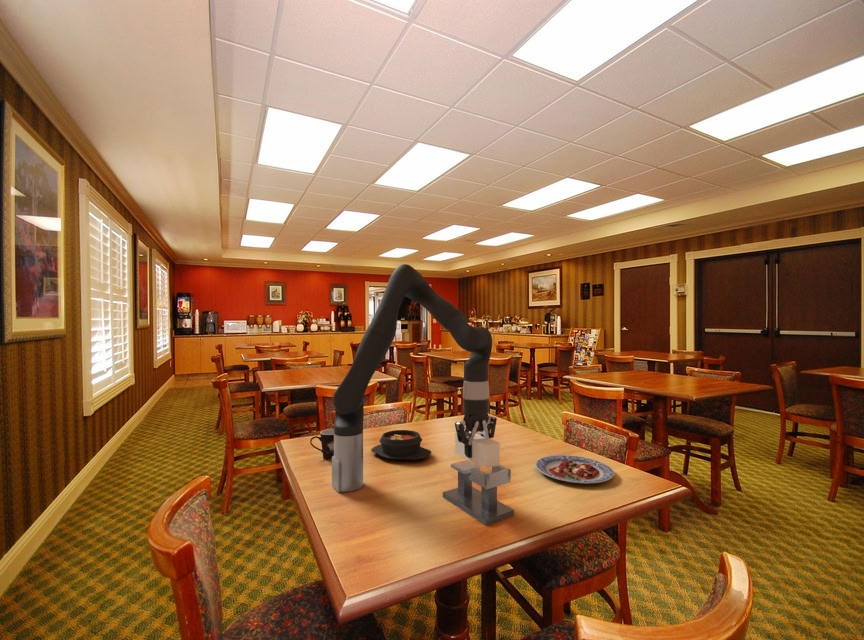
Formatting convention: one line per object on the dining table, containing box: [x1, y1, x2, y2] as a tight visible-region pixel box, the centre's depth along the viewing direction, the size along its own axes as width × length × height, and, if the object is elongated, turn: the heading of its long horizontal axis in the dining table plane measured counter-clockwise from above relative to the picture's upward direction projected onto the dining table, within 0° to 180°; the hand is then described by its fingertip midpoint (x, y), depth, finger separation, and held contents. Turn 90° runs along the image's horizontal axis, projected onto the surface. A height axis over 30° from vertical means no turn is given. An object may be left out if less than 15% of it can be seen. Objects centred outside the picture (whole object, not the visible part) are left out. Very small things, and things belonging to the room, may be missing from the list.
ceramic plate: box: [535, 454, 615, 484], centre depth 137 cm, size 26×26×3 cm
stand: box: [442, 459, 515, 526], centre depth 113 cm, size 10×20×12 cm, turn 32°
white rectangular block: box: [454, 431, 501, 469], centre depth 113 cm, size 5×14×6 cm, turn 32°
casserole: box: [370, 429, 432, 461], centre depth 156 cm, size 25×19×8 cm
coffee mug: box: [309, 428, 334, 461], centre depth 154 cm, size 12×9×10 cm
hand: (476, 455), depth 113 cm, fingers closed on white rectangular block, 5 cm apart
